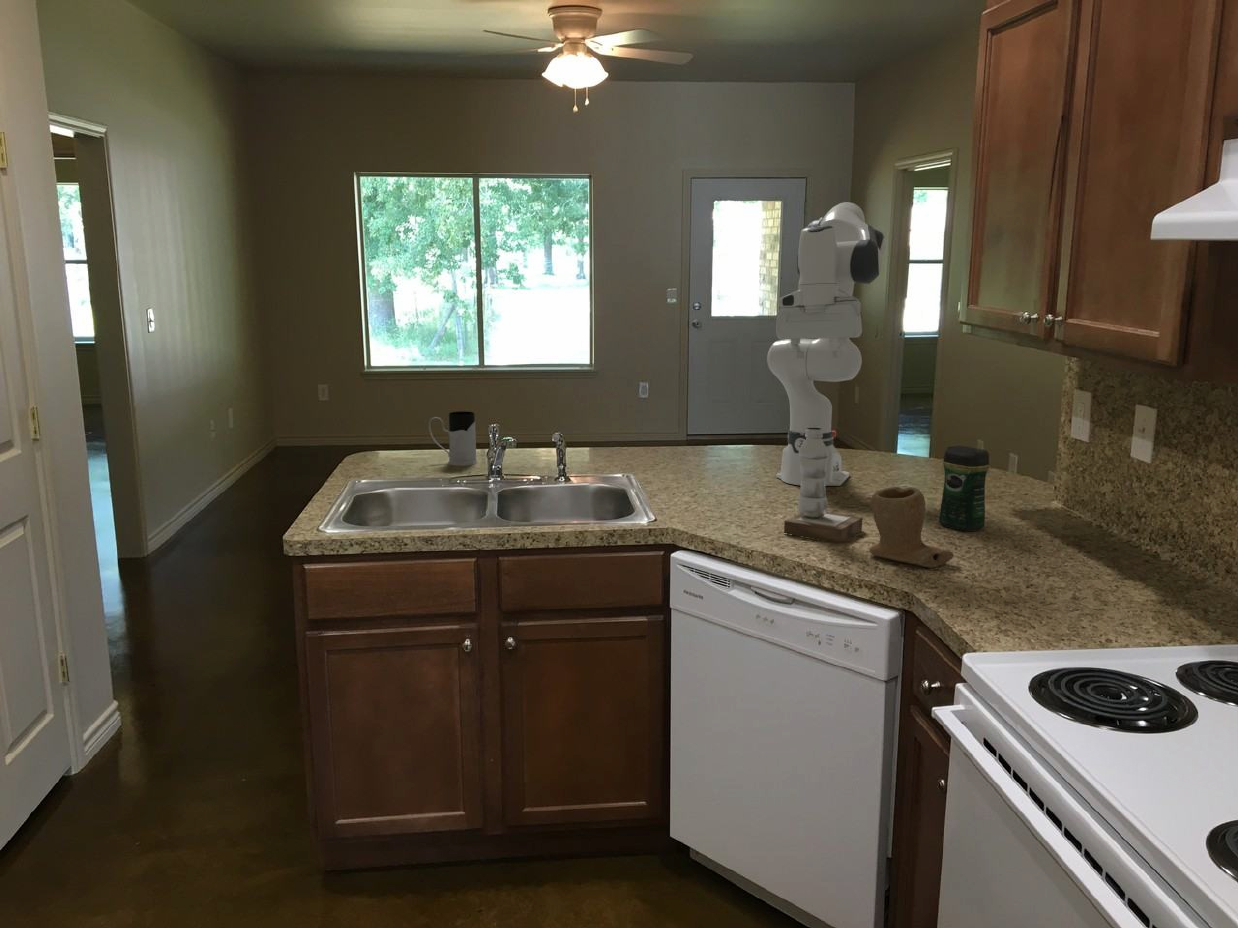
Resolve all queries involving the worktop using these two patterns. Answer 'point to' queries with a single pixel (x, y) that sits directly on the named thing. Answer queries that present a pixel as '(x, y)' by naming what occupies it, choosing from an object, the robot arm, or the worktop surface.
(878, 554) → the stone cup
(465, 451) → the grey and black mug
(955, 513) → the coffee jar
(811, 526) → the walnut slab
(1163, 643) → the worktop surface
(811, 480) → the plastic bottle
